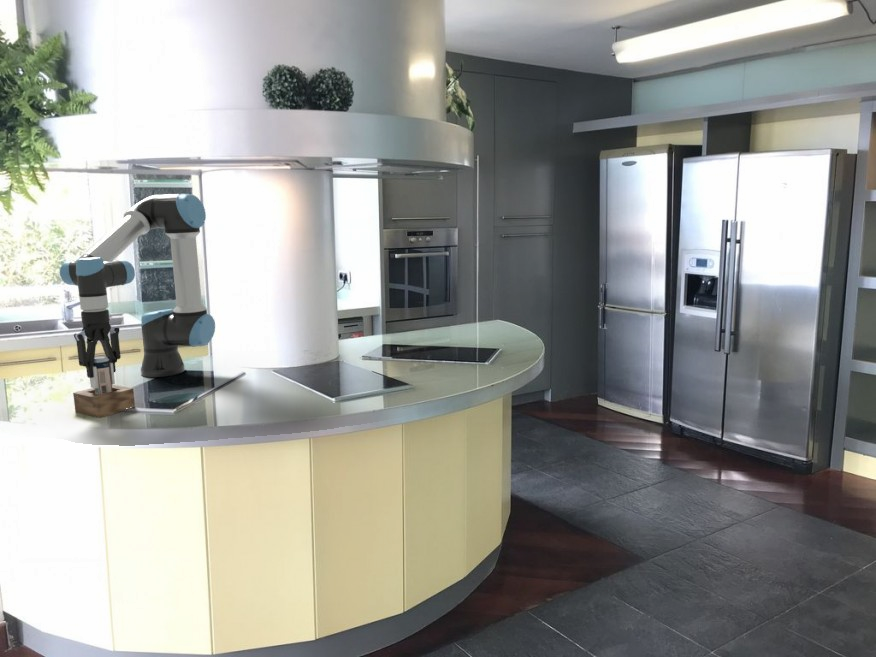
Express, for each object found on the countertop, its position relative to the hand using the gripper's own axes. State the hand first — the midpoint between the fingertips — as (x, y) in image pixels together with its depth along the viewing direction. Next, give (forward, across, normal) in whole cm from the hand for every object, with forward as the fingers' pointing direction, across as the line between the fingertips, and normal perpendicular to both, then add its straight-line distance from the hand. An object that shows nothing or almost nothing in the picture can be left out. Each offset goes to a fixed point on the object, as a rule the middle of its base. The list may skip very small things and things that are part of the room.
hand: (103, 385), depth 218 cm
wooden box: (+8, 0, 0) cm, 8 cm away
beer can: (+4, 0, 0) cm, 4 cm away
